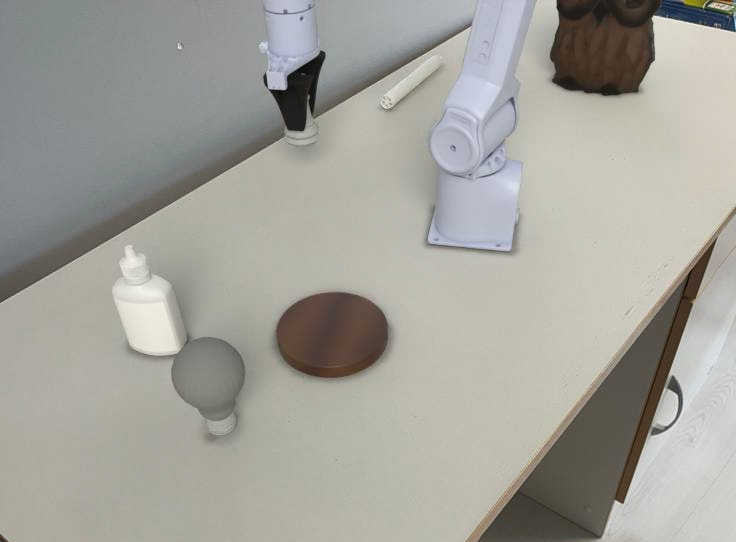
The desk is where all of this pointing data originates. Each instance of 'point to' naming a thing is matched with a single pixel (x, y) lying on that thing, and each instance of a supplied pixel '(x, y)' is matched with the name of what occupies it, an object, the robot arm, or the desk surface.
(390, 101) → the cream white rod
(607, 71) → the owl
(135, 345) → the eye dropper bottle
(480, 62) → the robot arm
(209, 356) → the light bulb
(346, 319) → the walnut coaster
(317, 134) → the rook chess piece
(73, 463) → the desk surface
